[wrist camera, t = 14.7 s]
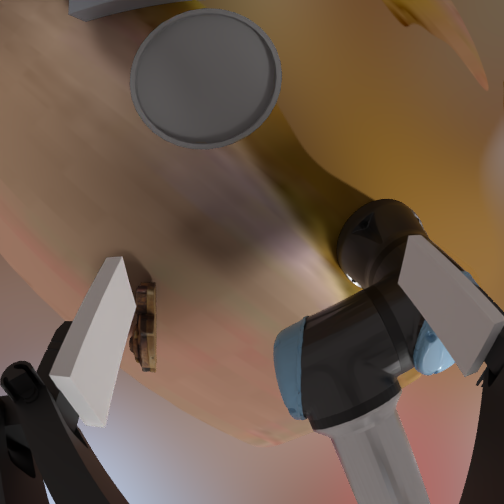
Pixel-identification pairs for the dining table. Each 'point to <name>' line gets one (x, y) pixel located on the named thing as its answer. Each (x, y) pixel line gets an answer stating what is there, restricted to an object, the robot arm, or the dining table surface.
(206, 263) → the dining table surface
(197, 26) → the reusable coffee cup
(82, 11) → the slate block
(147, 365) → the wooden carving
